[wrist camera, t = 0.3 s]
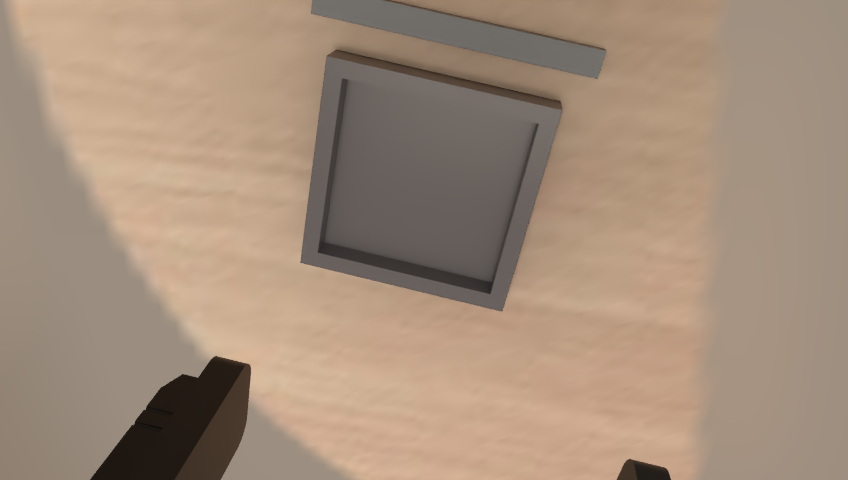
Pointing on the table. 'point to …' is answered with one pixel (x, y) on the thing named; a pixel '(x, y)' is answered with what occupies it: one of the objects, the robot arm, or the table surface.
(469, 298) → the tray
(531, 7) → the table surface
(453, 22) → the distance line
